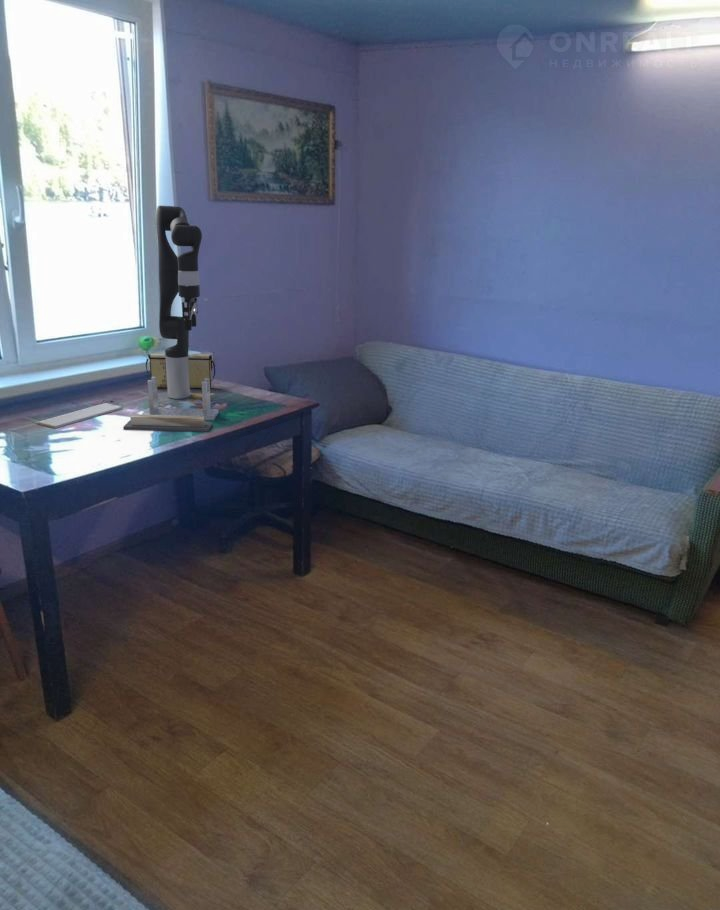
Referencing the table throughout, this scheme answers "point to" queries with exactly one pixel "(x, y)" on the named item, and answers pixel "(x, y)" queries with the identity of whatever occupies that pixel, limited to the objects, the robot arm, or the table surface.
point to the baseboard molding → (79, 415)
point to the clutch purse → (197, 369)
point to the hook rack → (155, 410)
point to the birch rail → (168, 420)
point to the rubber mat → (168, 427)
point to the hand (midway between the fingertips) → (190, 328)
